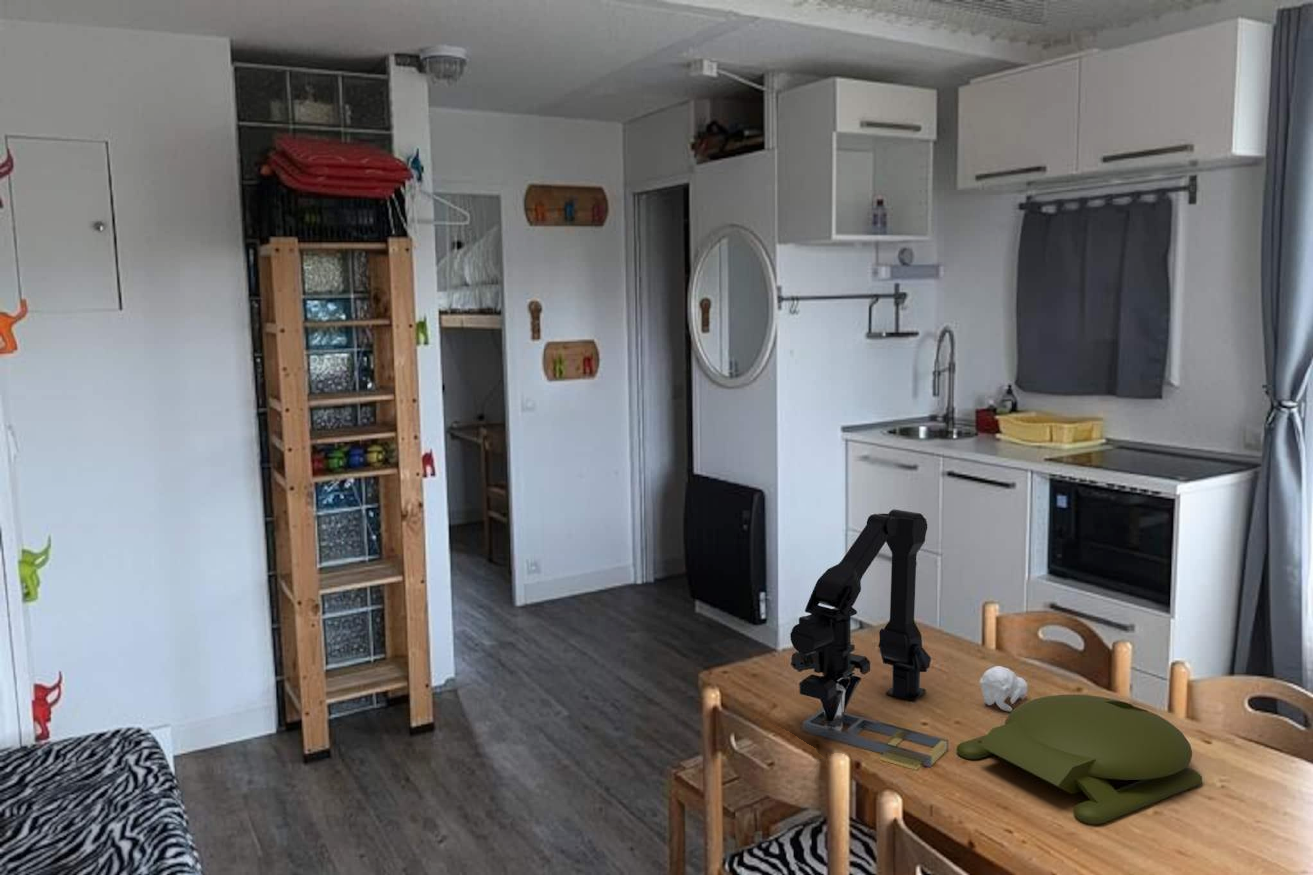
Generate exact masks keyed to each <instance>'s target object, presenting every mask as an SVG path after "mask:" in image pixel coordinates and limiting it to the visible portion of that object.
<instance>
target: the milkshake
mask: <svg viewBox="0 0 1313 875" xmlns="http://www.w3.org/2000/svg"><path fill="white" fill-rule="evenodd" d="M849 683H850V682H849ZM848 685H849V684H848ZM847 687H848V686H847ZM846 689H847V688H846ZM846 689H845V688H844V687H843V686H842V685H840V684H838V690H840V691H843V694H842V697H841V700H840V703H839V706H838V709H837V712H836V715H835V718H834V721H833V722H831V721H828V720H827V717H826V714H825V711H824V719H825V720H824V726H825V727H828V728H832V729H836V730H839V731H842V730H843V724H844V723H843V715H844V713H845V711H844V703H845V694H846Z"/></svg>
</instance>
